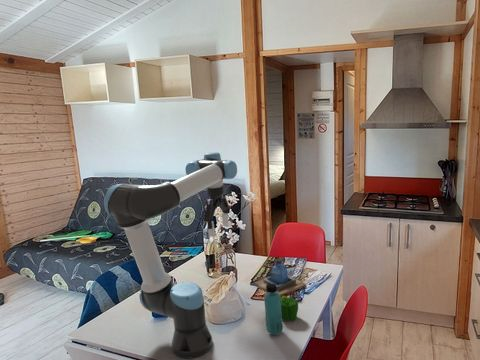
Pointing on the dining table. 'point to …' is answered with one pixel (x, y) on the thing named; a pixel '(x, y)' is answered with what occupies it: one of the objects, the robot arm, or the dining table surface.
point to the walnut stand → (281, 285)
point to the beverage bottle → (273, 310)
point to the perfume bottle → (278, 273)
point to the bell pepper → (289, 308)
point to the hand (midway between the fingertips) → (219, 230)
